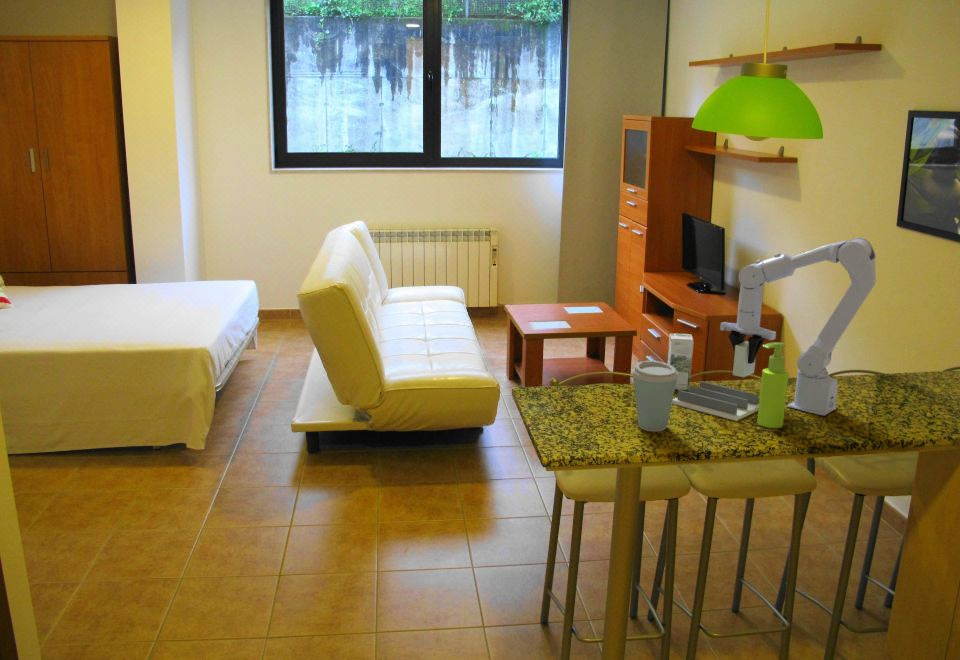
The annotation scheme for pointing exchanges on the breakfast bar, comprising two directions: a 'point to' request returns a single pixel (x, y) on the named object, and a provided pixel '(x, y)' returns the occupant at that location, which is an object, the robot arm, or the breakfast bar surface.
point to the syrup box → (681, 358)
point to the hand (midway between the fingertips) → (744, 361)
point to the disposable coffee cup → (654, 393)
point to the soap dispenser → (773, 389)
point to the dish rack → (718, 401)
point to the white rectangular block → (742, 361)
